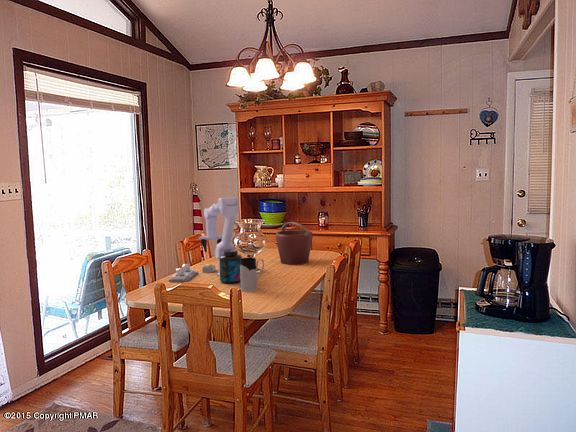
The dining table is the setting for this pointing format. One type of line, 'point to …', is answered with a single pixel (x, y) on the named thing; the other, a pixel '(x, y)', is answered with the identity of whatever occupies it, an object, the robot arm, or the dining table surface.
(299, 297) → the dining table surface
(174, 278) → the pallet board
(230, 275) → the container
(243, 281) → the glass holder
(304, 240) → the bucket
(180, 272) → the seated billet
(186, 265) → the billet
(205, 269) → the console
